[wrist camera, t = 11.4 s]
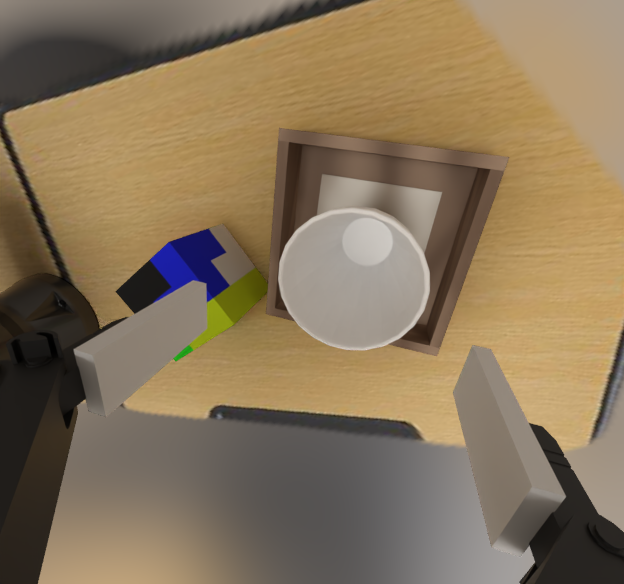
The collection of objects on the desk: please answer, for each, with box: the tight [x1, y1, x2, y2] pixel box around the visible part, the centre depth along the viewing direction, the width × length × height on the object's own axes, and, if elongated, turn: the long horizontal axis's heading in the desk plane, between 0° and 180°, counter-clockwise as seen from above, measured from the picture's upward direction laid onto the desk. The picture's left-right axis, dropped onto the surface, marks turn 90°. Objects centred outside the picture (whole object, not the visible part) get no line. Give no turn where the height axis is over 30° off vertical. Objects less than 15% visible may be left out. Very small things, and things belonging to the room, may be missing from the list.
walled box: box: [266, 128, 509, 356], centre depth 32 cm, size 19×19×5 cm
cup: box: [278, 206, 430, 350], centre depth 27 cm, size 10×10×14 cm
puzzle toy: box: [116, 224, 268, 361], centre depth 36 cm, size 10×10×10 cm
